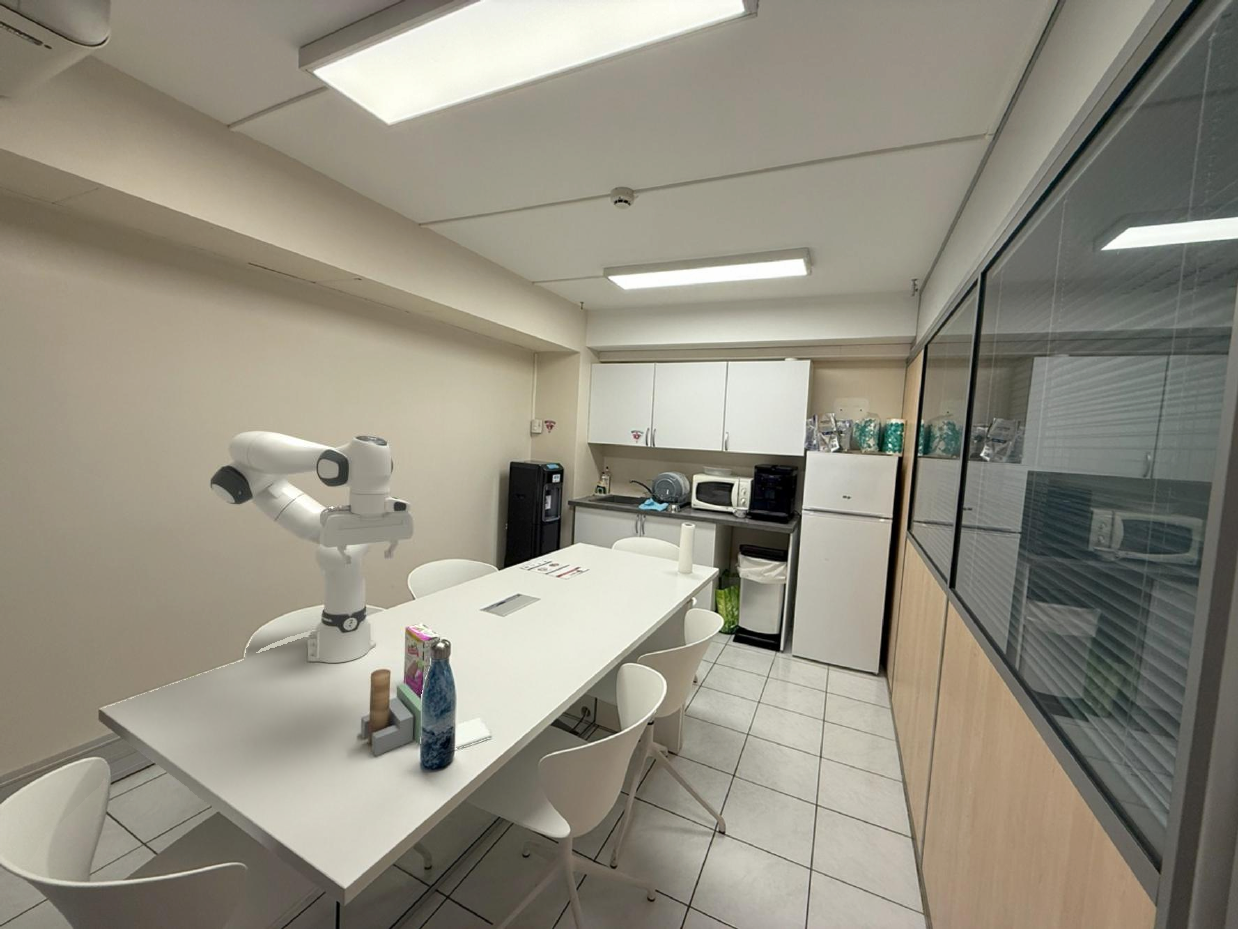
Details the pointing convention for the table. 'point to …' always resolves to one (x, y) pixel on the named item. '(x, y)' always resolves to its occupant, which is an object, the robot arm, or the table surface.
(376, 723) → the dowel
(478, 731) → the external hard drive
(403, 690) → the wall
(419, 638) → the candy bar box
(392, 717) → the block
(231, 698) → the table surface
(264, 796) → the table surface
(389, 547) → the robot arm
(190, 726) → the table surface
